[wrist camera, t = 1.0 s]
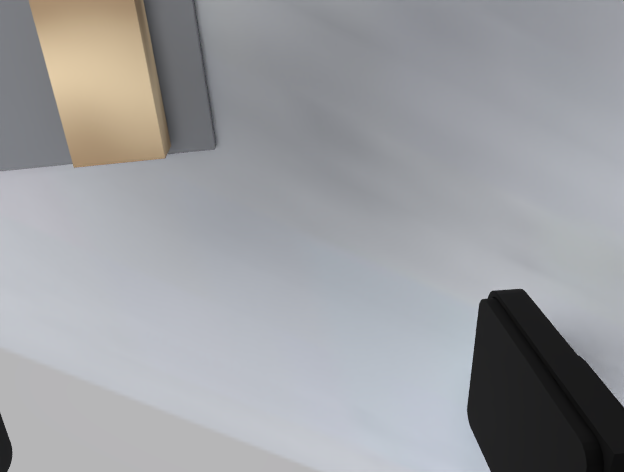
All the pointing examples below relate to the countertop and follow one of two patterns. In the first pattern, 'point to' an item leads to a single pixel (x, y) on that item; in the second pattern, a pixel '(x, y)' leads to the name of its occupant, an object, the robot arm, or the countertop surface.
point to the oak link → (103, 79)
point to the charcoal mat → (41, 101)
